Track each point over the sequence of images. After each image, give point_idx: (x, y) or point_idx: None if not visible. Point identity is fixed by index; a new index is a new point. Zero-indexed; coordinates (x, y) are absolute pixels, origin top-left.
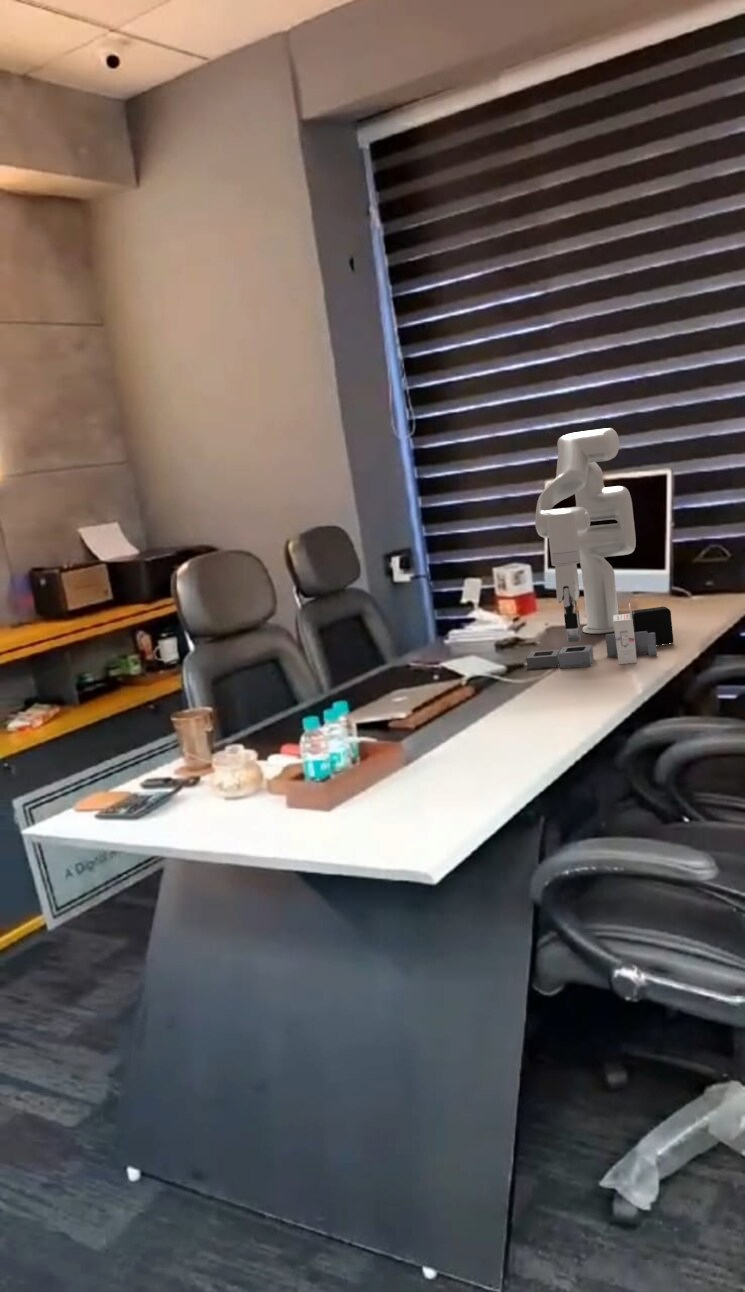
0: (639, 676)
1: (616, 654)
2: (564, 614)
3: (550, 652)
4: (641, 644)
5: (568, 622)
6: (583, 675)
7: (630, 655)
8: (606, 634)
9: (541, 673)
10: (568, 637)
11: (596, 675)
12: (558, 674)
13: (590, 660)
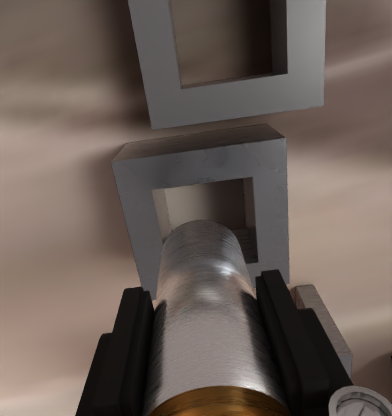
0: (17, 412)
1: None
2: (92, 409)
3: (286, 52)
4: None
5: (96, 359)
6: (13, 266)
7: None
8: (345, 358)
9: (32, 70)
10: (170, 246)
11: (17, 307)
12: (20, 164)
13: None
